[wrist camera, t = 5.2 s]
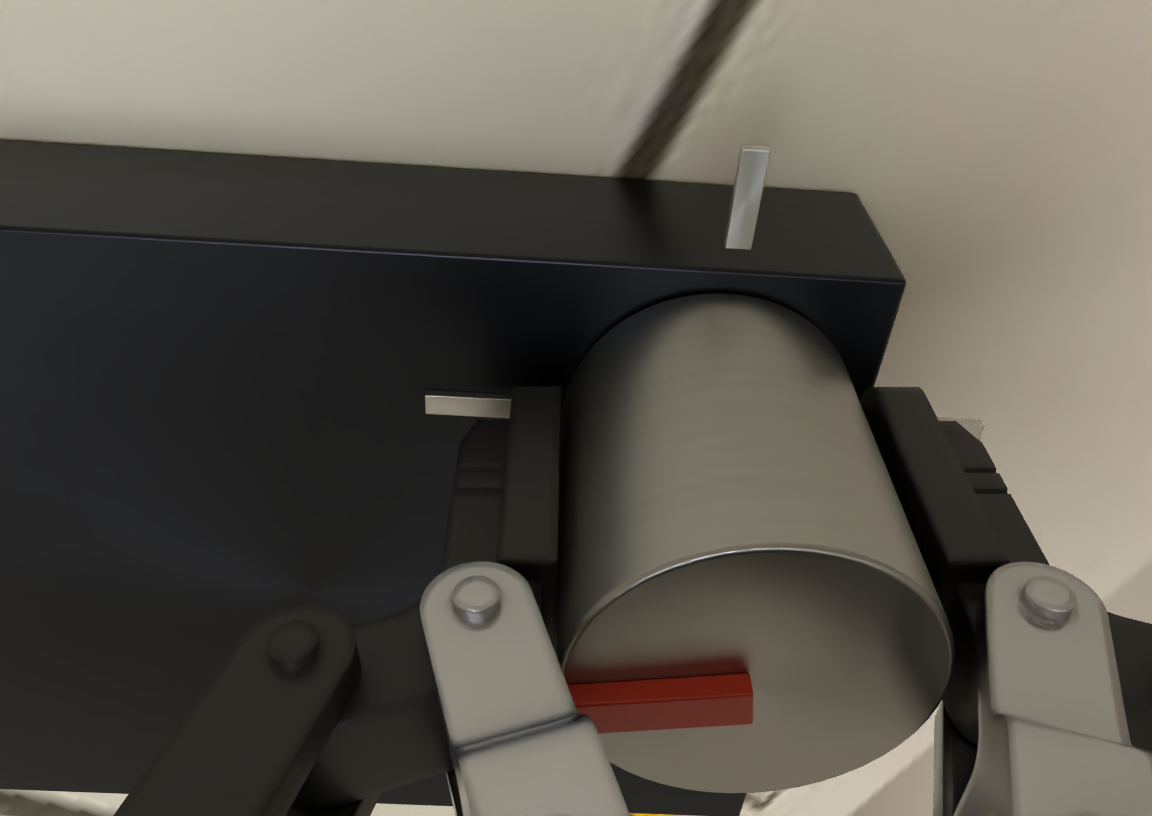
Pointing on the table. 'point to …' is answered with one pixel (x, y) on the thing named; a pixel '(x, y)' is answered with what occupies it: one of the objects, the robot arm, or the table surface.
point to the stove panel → (313, 396)
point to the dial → (737, 556)
